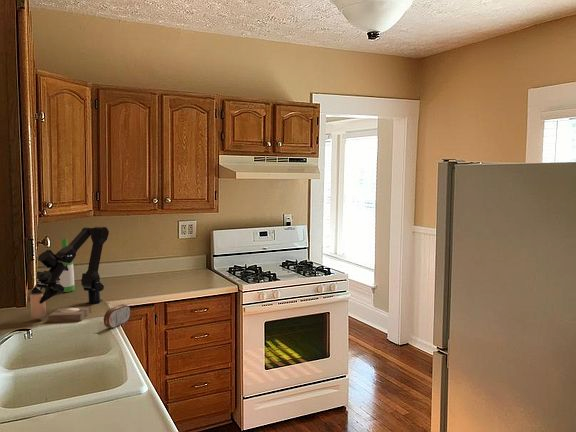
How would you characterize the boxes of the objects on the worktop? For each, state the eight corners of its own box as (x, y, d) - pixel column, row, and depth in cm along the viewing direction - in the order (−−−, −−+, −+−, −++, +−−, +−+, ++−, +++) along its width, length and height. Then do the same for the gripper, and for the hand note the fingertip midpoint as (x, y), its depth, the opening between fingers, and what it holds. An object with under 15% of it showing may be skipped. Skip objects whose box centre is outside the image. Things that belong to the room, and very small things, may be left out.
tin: (126, 320, 226) (126, 301, 226) (132, 320, 225) (131, 302, 225) (103, 330, 213) (102, 310, 212) (109, 330, 211) (108, 311, 211)
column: (35, 314, 232) (33, 293, 231) (48, 313, 232) (46, 292, 231) (29, 318, 226) (27, 296, 225) (42, 317, 226) (41, 295, 225)
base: (61, 313, 239) (60, 306, 239) (91, 312, 240) (90, 306, 240) (48, 322, 225) (48, 315, 225) (80, 321, 226) (80, 314, 226)
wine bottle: (77, 290, 287) (74, 238, 285) (67, 293, 280) (64, 240, 278) (67, 289, 290) (64, 237, 288) (56, 292, 283) (53, 239, 281)
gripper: (28, 262, 234) (8, 291, 225) (57, 265, 226) (38, 294, 217) (44, 275, 242) (25, 304, 233) (72, 278, 234) (54, 307, 225)
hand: (35, 302), depth 227 cm, fingers closed on column, 6 cm apart
